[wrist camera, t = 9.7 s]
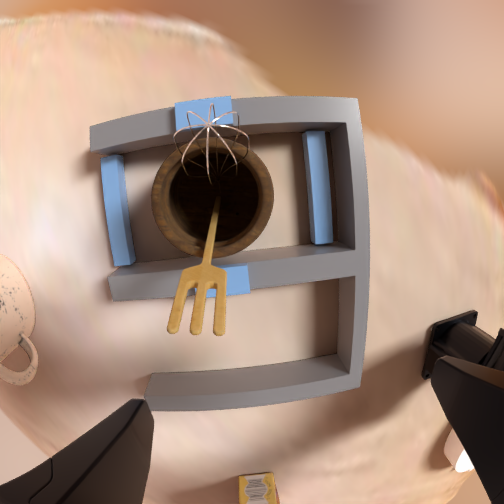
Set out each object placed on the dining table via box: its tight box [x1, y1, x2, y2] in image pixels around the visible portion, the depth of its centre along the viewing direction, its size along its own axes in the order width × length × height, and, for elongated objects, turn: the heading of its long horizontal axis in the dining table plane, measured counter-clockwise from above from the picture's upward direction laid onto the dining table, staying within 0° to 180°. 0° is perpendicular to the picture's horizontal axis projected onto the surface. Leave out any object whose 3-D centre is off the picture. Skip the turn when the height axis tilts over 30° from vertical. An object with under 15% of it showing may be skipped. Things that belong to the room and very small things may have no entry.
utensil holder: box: [151, 103, 274, 336], centre depth 12 cm, size 6×6×12 cm
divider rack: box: [90, 96, 370, 411], centre depth 17 cm, size 16×20×4 cm
